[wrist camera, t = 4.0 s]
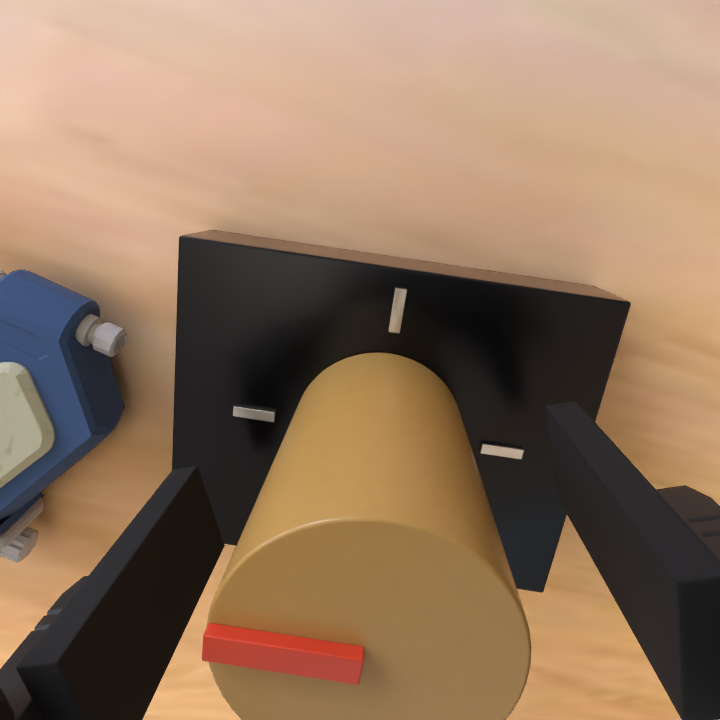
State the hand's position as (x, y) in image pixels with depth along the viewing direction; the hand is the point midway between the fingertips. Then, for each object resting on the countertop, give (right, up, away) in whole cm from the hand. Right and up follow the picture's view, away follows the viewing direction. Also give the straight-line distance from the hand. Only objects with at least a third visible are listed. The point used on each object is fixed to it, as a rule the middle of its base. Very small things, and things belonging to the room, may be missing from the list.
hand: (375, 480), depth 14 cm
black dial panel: (0, +2, +6) cm, 6 cm away
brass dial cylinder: (0, +1, +3) cm, 3 cm away
